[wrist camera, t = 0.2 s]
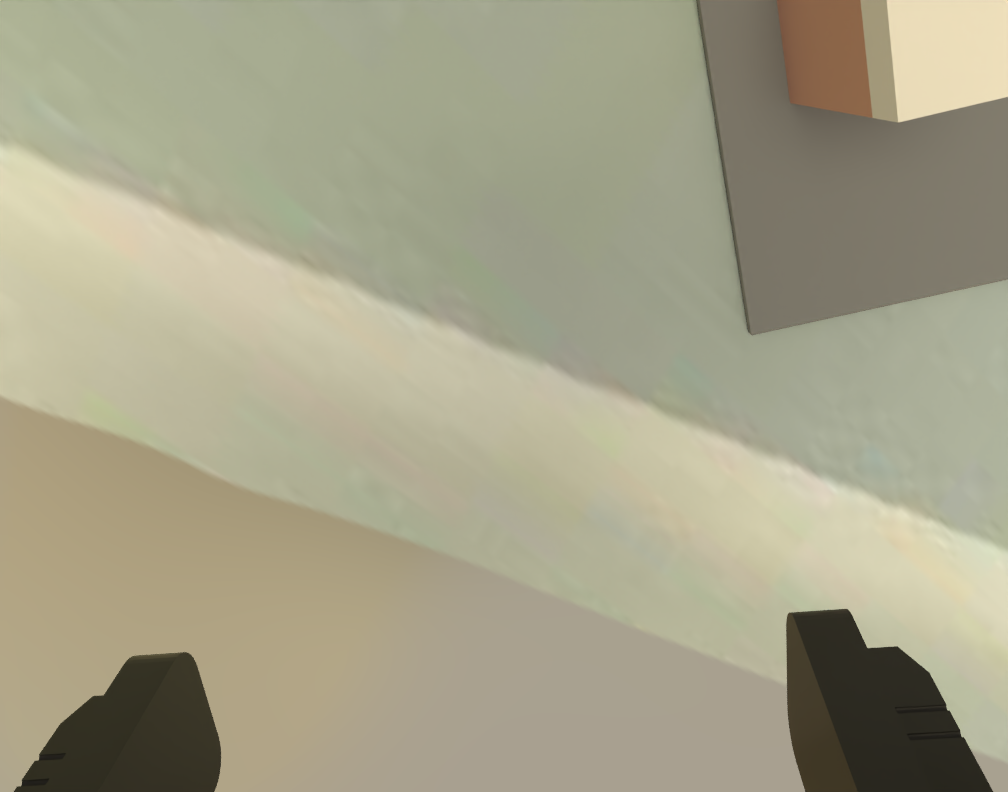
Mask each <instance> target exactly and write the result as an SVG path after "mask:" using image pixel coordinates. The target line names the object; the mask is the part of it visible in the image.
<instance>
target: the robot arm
mask: <svg viewBox="0 0 1008 792" xmlns="http://www.w3.org/2000/svg"><path fill="white" fill-rule="evenodd" d="M786 636H787V701H788V702H787V705H788V720H789V728H790V735H791V741H792V746H793V750H794V755H795V758H796V762H797V765H798V769H799V772H800V775H801V779H802V782H803V785H804V788H805V792H993V791H992V789H991V787H990V785H989V783H988V782H987V779H986V778H985V776H984V774H983V772H982V770H981V768H980V766H979V765H978V763H977V761H976V759H975V757H974V755H973V753H972V752H971V750H970V748H969V746H968V744H967V742H966V740H965V739H964V737H963V738H962V737H961V734H960V729H959V727H958V725H957V724H956V722H955V720H954V718H953V716H952V714H951V712H950V711H947V708H946V703H945V701H944V699H943V698H942V696H941V694H940V692H939V690H938V688H937V686H936V685H935V683H934V681H933V679H932V677H931V675H930V673H929V672H928V671H926V670H925V669H924V668H923V667H922V666H920V665H919V664H918V663H917V662H916V661H914V660H913V659H912V658H911V657H909V656H908V655H907V654H906V653H905V652H903V651H902V650H901V649H900V648H898V647H882V648H867V647H866V644H865V642H864V640H863V638H862V636H861V634H860V632H859V629H858V627H857V625H856V623H855V621H854V619H853V616H852V615H851V613H850V611H849V610H848V609H838V610H823V611H808V612H794V613H789V614H788V616H787V623H786ZM220 767H221V747H220V741H219V737H218V733H217V730H216V727H215V724H214V720H213V717H212V713H211V710H210V707H209V704H208V700H207V697H206V694H205V690H204V687H203V684H202V681H201V677H200V674H199V671H198V668H197V665H196V662H195V660H194V658H193V657H192V656H191V655H190V654H189V653H186V652H183V653H168V654H153V655H139V656H133V657H131V658H129V659H128V660H127V661H126V663H125V664H124V665H123V667H122V668H121V670H120V671H119V673H118V674H117V676H116V677H115V679H114V681H113V682H112V684H111V685H110V687H109V688H108V690H107V691H106V693H105V694H104V696H93V697H92V698H90V699H89V700H88V701H87V702H86V703H84V704H83V705H82V706H81V707H80V708H79V709H77V710H76V711H75V712H74V713H73V714H71V715H70V716H69V717H68V718H67V719H66V720H64V722H62V723H61V724H60V725H59V727H58V728H57V729H56V731H55V733H54V734H53V735H52V737H51V738H50V740H49V741H48V743H47V744H46V746H45V747H44V748H43V750H42V751H41V753H40V754H39V761H35V762H34V763H33V764H32V766H31V767H30V769H29V770H28V772H27V773H26V775H25V776H24V778H23V779H22V786H21V787H17V788H16V789H15V791H14V792H214V791H215V788H216V786H217V782H218V779H219V774H220Z"/></svg>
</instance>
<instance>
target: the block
mask: <svg viewBox="0 0 1008 792" xmlns="http://www.w3.org/2000/svg"><path fill="white" fill-rule="evenodd" d="M777 6H778V14H779V22H780V29H781V37H782V45H783V52H784V60H785V68H786V75H787V83H788V91H789V98H790V103H792V104H798V105H804V106H809V107H815V108H820V109H826V110H831V111H837V112H842V113H848V114H853V115H859V116H865V117H870V118H876V119H881V120H887V121H892V122H898V123H899V122H903V121H907V120H911V119H916V118H920V117H924V116H928V115H933V114H937V113H941V112H945V111H950V110H954V109H958V108H962V107H967V106H971V105H975V104H979V103H984V102H988V101H992V100H997V99H1001V98H1005V97H1008V0H777Z"/></svg>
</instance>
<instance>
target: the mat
mask: <svg viewBox="0 0 1008 792" xmlns="http://www.w3.org/2000/svg"><path fill="white" fill-rule="evenodd" d="M697 7H698V13H699V20H700V26H701V32H702V39H703V45H704V52H705V58H706V64H707V71H708V77H709V84H710V90H711V96H712V103H713V109H714V115H715V122H716V128H717V135H718V141H719V147H720V154H721V160H722V167H723V173H724V179H725V186H726V192H727V199H728V205H729V211H730V218H731V224H732V231H733V237H734V243H735V250H736V256H737V263H738V269H739V275H740V282H741V288H742V295H743V301H744V307H745V314H746V320H747V327H748V332H749V333H750V334H751V335H755V334H759V333H764V332H768V331H773V330H777V329H782V328H787V327H791V326H796V325H800V324H805V323H810V322H814V321H819V320H823V319H828V318H833V317H837V316H842V315H846V314H851V313H855V312H860V311H865V310H869V309H874V308H878V307H883V306H888V305H892V304H897V303H901V302H906V301H911V300H915V299H920V298H924V297H929V296H933V295H938V294H943V293H947V292H952V291H956V290H961V289H966V288H970V287H975V286H979V285H984V284H989V283H993V282H998V281H1002V280H1007V279H1008V97H1005V98H1001V99H997V100H992V101H988V102H984V103H979V104H975V105H971V106H967V107H962V108H958V109H954V110H950V111H945V112H941V113H937V114H933V115H928V116H924V117H920V118H916V119H911V120H907V121H903V122H899V123H898V122H892V121H887V120H881V119H876V118H870V117H865V116H859V115H853V114H848V113H842V112H837V111H831V110H826V109H820V108H815V107H809V106H804V105H798V104H792V103H790V98H789V91H788V83H787V75H786V68H785V60H784V52H783V45H782V37H781V29H780V22H779V14H778V6H777V0H697Z"/></svg>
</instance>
